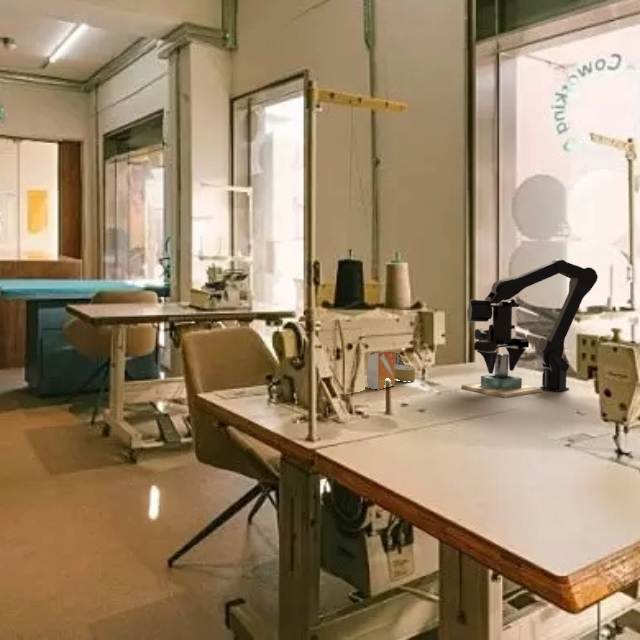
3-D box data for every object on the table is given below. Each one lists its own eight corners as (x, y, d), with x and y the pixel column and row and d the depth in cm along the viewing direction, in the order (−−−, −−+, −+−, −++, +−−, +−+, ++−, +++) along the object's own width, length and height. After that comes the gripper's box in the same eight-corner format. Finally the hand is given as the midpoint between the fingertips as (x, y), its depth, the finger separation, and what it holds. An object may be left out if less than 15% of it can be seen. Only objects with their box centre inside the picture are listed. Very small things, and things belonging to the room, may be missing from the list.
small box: (378, 390, 230) (378, 348, 229) (363, 387, 235) (363, 346, 234) (395, 387, 236) (395, 346, 235) (380, 384, 240) (380, 344, 239)
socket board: (541, 391, 227) (541, 378, 227) (505, 397, 218) (505, 384, 218) (496, 382, 242) (497, 370, 242) (461, 388, 233) (461, 375, 233)
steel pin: (510, 386, 230) (511, 354, 229) (501, 388, 228) (502, 355, 227) (500, 384, 233) (501, 353, 232) (491, 386, 231) (492, 354, 230)
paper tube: (414, 379, 249) (415, 304, 247) (415, 382, 243) (416, 306, 240) (394, 378, 250) (395, 304, 248) (394, 382, 243) (395, 306, 241)
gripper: (503, 317, 240) (502, 365, 242) (461, 321, 230) (460, 371, 231) (530, 320, 231) (529, 370, 232) (488, 324, 221) (487, 376, 222)
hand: (501, 372), depth 230 cm, fingers open, 9 cm apart
